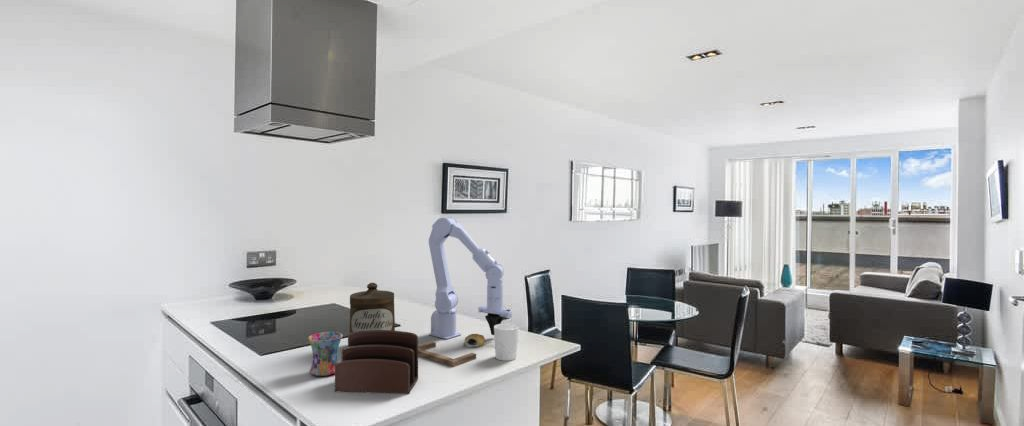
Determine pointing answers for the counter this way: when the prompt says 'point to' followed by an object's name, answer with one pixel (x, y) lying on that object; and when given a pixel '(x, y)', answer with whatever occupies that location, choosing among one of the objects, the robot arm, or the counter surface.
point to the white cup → (506, 341)
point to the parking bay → (443, 359)
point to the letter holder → (378, 362)
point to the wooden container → (372, 310)
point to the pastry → (474, 340)
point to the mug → (324, 352)
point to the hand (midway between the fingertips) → (494, 334)
